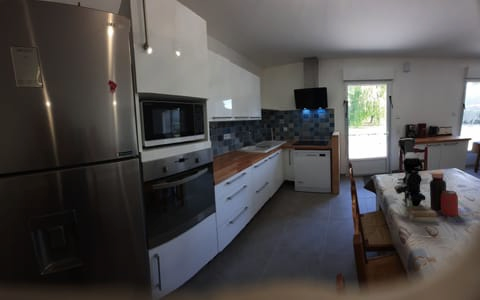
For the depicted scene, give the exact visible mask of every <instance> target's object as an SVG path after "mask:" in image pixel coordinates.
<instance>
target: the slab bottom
mask: <svg viewBox="0 0 480 300" xmlns="http://www.w3.org/2000/svg"><path fill="white" fill-rule="evenodd" d="M406 213H407V215H408V216H409V218H410V219H411V221H417V222H436V221H437V220H436V218H437V217H413V216H412V215H411V214H409V213H408V212H407V211H406Z"/></svg>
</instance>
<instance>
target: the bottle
mask: <svg viewBox="0 0 480 300" xmlns="http://www.w3.org/2000/svg"><path fill="white" fill-rule="evenodd" d="M446 190H447V182H446V181H445V180H444V172H440V171H434V172H431V180H430V181H429V197H430V200H429V201H430V209H432V210H433V211H438V212H439V211H440V212H441V193H442V191H446Z"/></svg>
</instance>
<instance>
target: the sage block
mask: <svg viewBox="0 0 480 300" xmlns="http://www.w3.org/2000/svg"><path fill="white" fill-rule="evenodd" d="M406 206H413V204H412V200H410V199H409V198H407V203H406ZM419 206H421V203H420V204H419Z"/></svg>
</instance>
